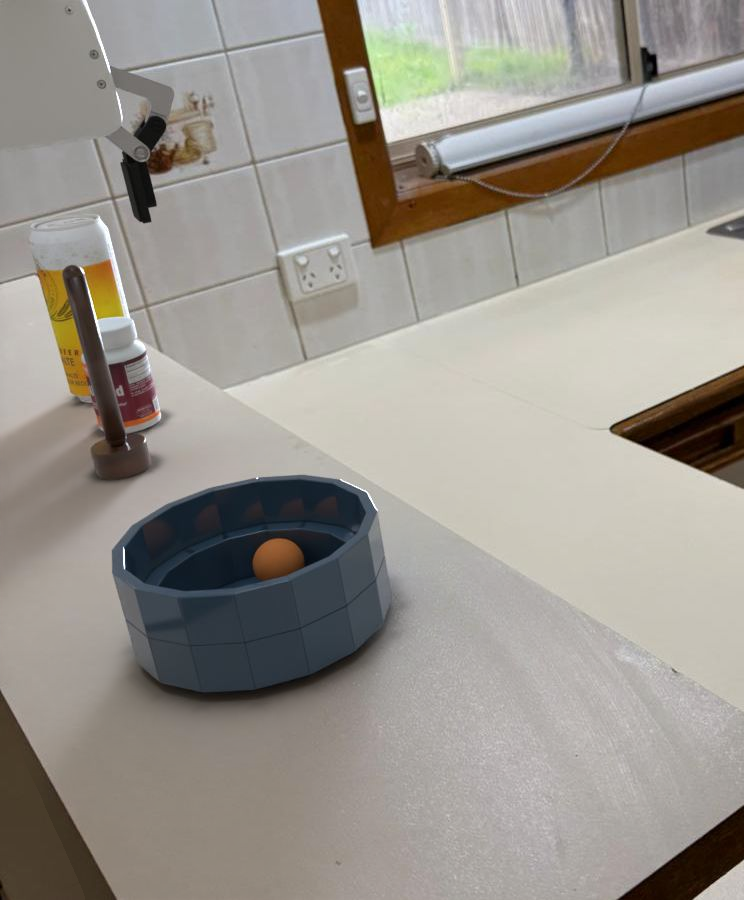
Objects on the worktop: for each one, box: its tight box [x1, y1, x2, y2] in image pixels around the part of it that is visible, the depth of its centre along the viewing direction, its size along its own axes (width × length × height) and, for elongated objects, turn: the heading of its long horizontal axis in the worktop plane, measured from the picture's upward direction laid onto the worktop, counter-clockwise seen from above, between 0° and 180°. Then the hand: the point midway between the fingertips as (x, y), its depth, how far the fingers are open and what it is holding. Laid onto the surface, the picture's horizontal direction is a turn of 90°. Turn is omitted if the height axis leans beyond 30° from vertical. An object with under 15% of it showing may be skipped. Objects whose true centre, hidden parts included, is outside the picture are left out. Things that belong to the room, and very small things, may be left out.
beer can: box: [28, 213, 131, 404], centre depth 96 cm, size 6×6×15 cm
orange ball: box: [253, 538, 305, 582], centre depth 64 cm, size 3×3×3 cm
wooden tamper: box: [62, 265, 153, 481], centre depth 80 cm, size 4×4×15 cm
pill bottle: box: [81, 317, 162, 434], centre depth 90 cm, size 5×5×8 cm
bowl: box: [111, 474, 393, 693], centre depth 60 cm, size 13×13×6 cm
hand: (68, 233), depth 76 cm, fingers open, 9 cm apart
